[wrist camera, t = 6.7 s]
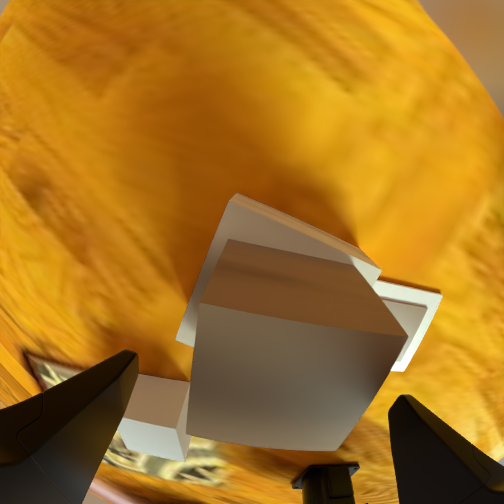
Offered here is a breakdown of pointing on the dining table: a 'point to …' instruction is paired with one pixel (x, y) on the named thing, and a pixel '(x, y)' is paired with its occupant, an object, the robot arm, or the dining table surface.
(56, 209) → the dining table surface
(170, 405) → the grey cube
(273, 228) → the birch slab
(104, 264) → the dining table surface
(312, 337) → the walnut cube
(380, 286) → the walnut card
